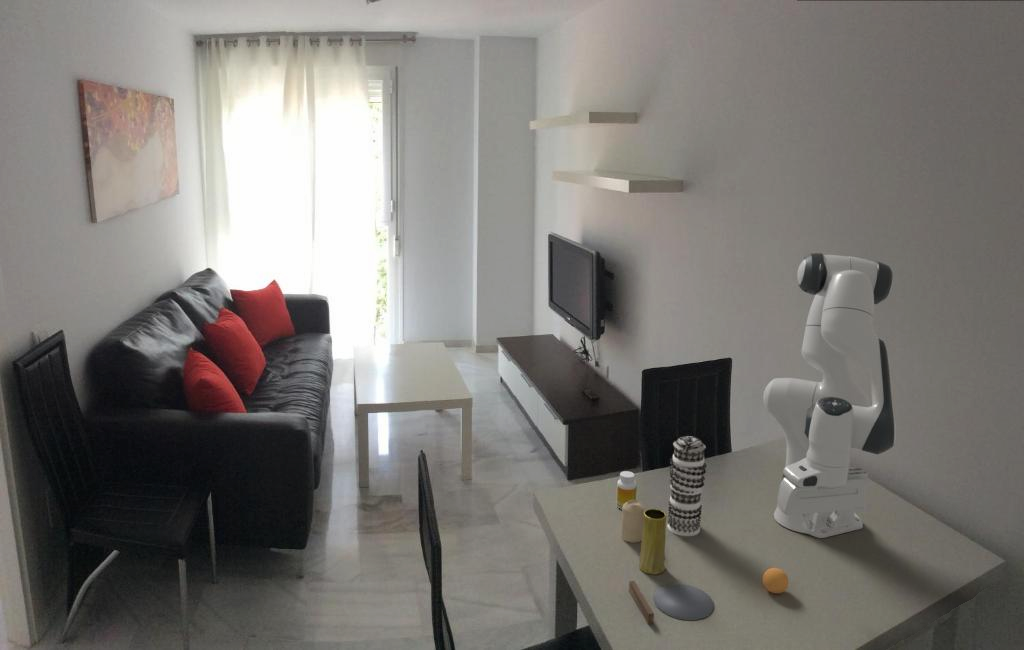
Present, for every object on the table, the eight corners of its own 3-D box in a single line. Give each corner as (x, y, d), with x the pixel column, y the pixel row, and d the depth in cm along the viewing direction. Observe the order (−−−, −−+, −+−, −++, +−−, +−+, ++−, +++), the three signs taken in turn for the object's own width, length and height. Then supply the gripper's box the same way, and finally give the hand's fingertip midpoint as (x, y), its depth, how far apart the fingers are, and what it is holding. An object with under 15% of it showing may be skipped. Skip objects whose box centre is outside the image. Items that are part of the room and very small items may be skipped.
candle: (642, 544, 189) (644, 508, 187) (620, 541, 190) (622, 506, 188) (643, 533, 195) (645, 498, 192) (621, 530, 196) (623, 495, 193)
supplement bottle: (636, 511, 206) (638, 478, 203) (617, 510, 206) (618, 478, 203) (634, 501, 211) (635, 470, 209) (615, 501, 211) (616, 469, 209)
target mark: (698, 581, 174) (698, 581, 174) (724, 616, 161) (724, 615, 161) (645, 587, 171) (645, 587, 171) (667, 623, 159) (667, 622, 159)
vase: (636, 561, 182) (639, 507, 178) (660, 560, 182) (664, 507, 179) (642, 575, 176) (645, 520, 172) (667, 574, 177) (671, 519, 173)
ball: (779, 582, 173) (781, 561, 172) (791, 597, 168) (794, 575, 167) (757, 585, 172) (759, 564, 171) (769, 599, 167) (771, 578, 166)
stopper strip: (633, 590, 170) (634, 580, 170) (653, 623, 159) (654, 613, 158) (628, 591, 170) (629, 581, 169) (648, 624, 159) (648, 614, 158)
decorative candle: (674, 538, 192) (680, 448, 186) (660, 521, 201) (665, 434, 194) (707, 535, 194) (714, 445, 187) (691, 517, 202) (698, 431, 196)
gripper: (859, 461, 170) (852, 516, 173) (776, 468, 166) (770, 524, 169) (877, 473, 164) (869, 530, 167) (792, 481, 160) (785, 539, 163)
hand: (819, 527), depth 168 cm, fingers open, 4 cm apart
